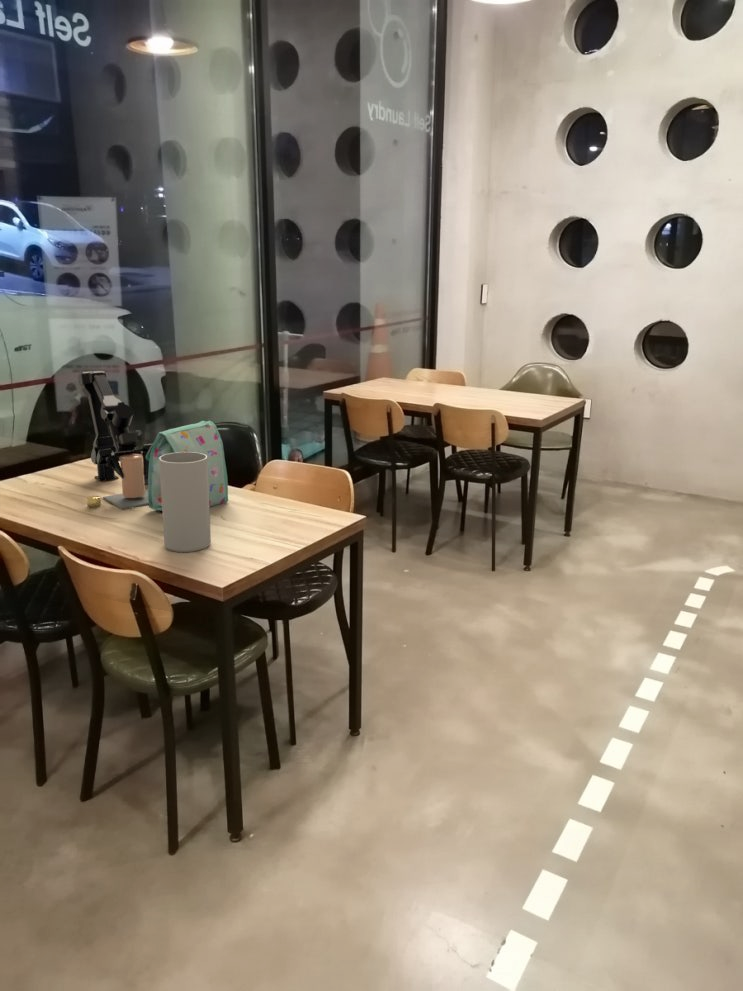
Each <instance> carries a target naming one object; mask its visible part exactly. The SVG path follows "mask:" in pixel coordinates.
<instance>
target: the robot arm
mask: <svg viewBox="0 0 743 991" xmlns="http://www.w3.org/2000/svg"><path fill="white" fill-rule="evenodd" d="M77 382H78V385H79V386H80V388H81V391H82V393H83V394H85V396H86V397H87V399H88V404H89V407H90V413H91V418H92V422H93V426H94V427H93V428H94V432H95V439H94V441H93V443H92V446H93V447H92V450H91V454H90V459H91V462H92V463H93V464H95V465H96V467H97V475H95V476H94V479H96V480H98V481H100V482H105V481H111V480H112V481H113V480H118V479H119V477H120V478H121V479H122V478H123V477H124V475H123V472H122V469H121V463H119V462H120V458H121V456H122V455H125V454H141V455H143V464H144V475H146V466H147V461H148V460H146V455H147V453H148V451H149V449H150V447H151V446H152V444H153V443H148V444H147V443H145V444H143V445H142V448H139V449H136V448H137V447H138V446H137V445H138V444H137V443H138V442H140V441H142V440H143V438H144V437H143V433H142V431H141V429H137V430H134V431H131V432H130V430H129V426H131V422H132V420H133V416H134V414H135V413H134V409H133V408H132V407H131V406H130V405H129V404H128V405H127V404H126V403H125V401H121V399H119V398H117V397H116V396H115V394H114V393H113V390H112V388H111V386H110V384H109V382H108V380H107V375H106V372H105V371H103V370H90V371H89V370H88V371H81V372H80V374H78V376H77ZM108 422H109V425H108ZM116 474H117V475H118V476H117V475H116Z"/></svg>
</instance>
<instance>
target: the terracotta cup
mask: <svg viewBox="0 0 743 991" xmlns="http://www.w3.org/2000/svg"><path fill="white" fill-rule="evenodd" d="M119 462H120V467H121V469H122V472H123V475H124V477H123V478H121V484H122V485H121V486H122V494H123V496H124V497H127V498H137V497H142V496H144V495H145V490H146V486H145V485H146V484H145V480H144V464H143V455H141V454H125V455H122V456H121V458H119Z"/></svg>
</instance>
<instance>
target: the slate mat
mask: <svg viewBox="0 0 743 991" xmlns="http://www.w3.org/2000/svg"><path fill="white" fill-rule="evenodd" d="M102 497H103V498H104V499H103V500H105V499H106V500H105V501H106V502H108V501H109V503H110V502H111V503H110V504H111V505H113V504H114V505H113V506H115V507H117V508H118V507H119V508H118V509H120V510H121V511H122V510H123V511H124V510H126V509H127V508H128V509H132V507H133V508H138V506H139V507H143V505H144V506H149V505H148V488H147V489H146V488H145V495H144V496H142V497H137V498H127V497H124V496H123V493H117V494H112V495H107V496H102Z"/></svg>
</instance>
